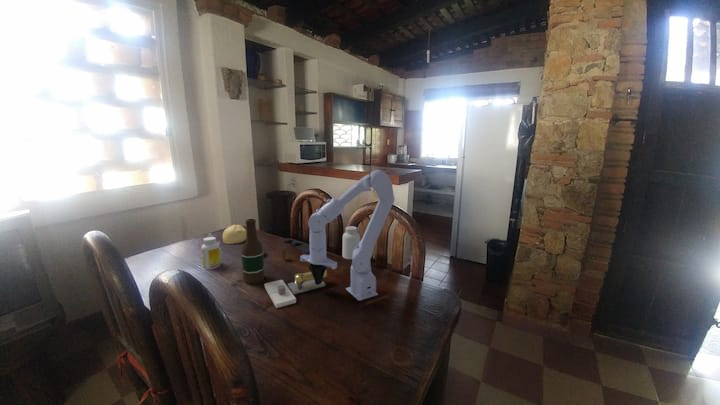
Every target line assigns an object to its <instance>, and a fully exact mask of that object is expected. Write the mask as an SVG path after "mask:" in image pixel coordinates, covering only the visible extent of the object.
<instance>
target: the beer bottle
mask: <svg viewBox="0 0 720 405" xmlns="http://www.w3.org/2000/svg"><path fill="white" fill-rule="evenodd" d="M244 223H245V225H246V227H245V229H246V240H245V241H244V244H243V245H242V247H241V248H242V249H241V261H242V262H241V263H242V277H243V278H242V279H243V282H244V283H246V284H248V285H253V284H254V285H255V284H260V283H261V282H263V281H264V279H265V261H264V259H265V258H264V256H263V248H264V247H263V244H262V243H261V241H260V240H259V238H258V235H257V234H258V233H257V225H256V223H257V220H256V219H255V218H247V219H246V220H245V222H244Z"/></svg>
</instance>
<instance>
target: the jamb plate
mask: <svg viewBox="0 0 720 405" xmlns="http://www.w3.org/2000/svg"><path fill="white" fill-rule="evenodd" d="M287 287H288V288H289V290H290V291H291V292H292V294H293V295H297V294H301V293H305V292H308V291H312V290H316V289H319V288H323V287H326V283H325V282H324V281H323V280H322V283H321V284H319V285H317V284H315V280H311V281H307V282H304V283H302V284H296V283H295V281H294V282H293V281H292V282H290V283H287Z"/></svg>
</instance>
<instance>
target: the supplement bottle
mask: <svg viewBox="0 0 720 405" xmlns="http://www.w3.org/2000/svg"><path fill="white" fill-rule="evenodd" d="M206 237H207V236H206ZM206 237H205V238H204V237H203V238H204V239H203V242H204V245H202V247H201V257H202V258H201V259H202V266H203V269H204V270H214V269H216V268H219V267H220V266H221V264H222V262H221V253H220V252H221V251H220V250H219V247H220V244H218V243H216V241H217V238H216V237H215V236H213V237H207V238H206Z"/></svg>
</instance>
